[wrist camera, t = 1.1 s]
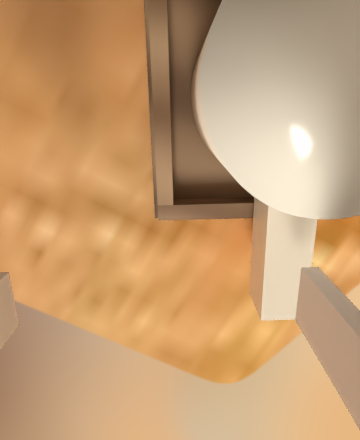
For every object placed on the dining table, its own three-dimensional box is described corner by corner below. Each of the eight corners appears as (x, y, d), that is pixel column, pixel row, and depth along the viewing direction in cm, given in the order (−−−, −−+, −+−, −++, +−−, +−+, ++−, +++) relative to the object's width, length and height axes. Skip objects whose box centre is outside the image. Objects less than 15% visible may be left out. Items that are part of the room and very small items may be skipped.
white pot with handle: (188, 1, 18) (200, -101, 9) (366, -4, 18) (543, -110, 9) (192, 277, 23) (202, 373, 15) (327, 273, 23) (414, 366, 15)
